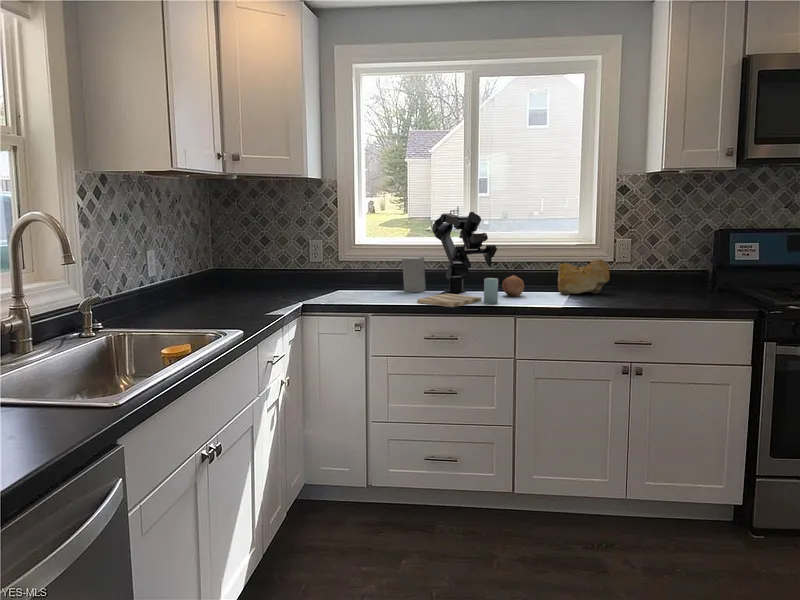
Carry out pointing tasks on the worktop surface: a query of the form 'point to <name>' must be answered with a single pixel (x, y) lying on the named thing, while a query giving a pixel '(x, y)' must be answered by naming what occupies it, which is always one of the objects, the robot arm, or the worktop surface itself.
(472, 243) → the robot arm
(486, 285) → the ceramic jar
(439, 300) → the oak board
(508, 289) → the onion
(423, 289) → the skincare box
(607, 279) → the rough brown rock
